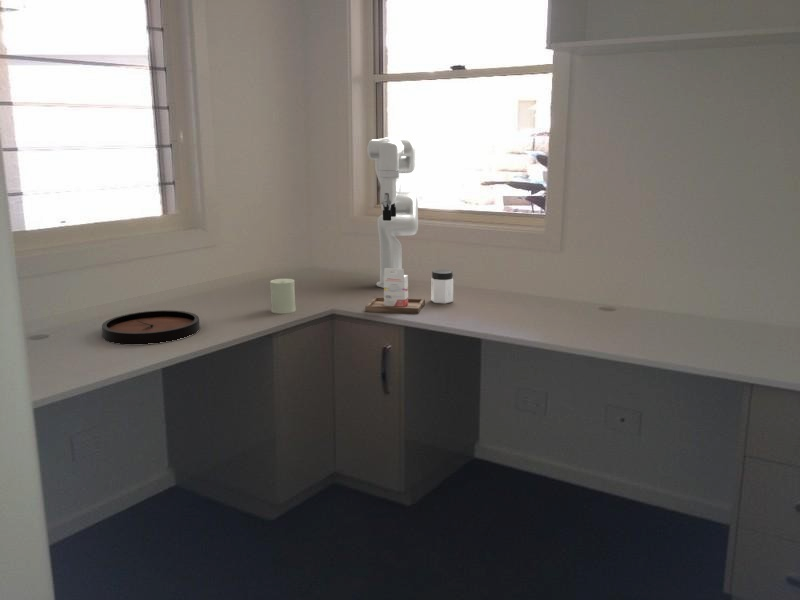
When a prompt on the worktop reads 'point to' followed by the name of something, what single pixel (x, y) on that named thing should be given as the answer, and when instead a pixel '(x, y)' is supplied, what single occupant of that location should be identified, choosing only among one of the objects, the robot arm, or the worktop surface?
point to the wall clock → (150, 327)
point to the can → (282, 296)
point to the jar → (442, 286)
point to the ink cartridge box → (395, 288)
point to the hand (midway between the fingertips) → (389, 218)
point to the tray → (378, 306)
